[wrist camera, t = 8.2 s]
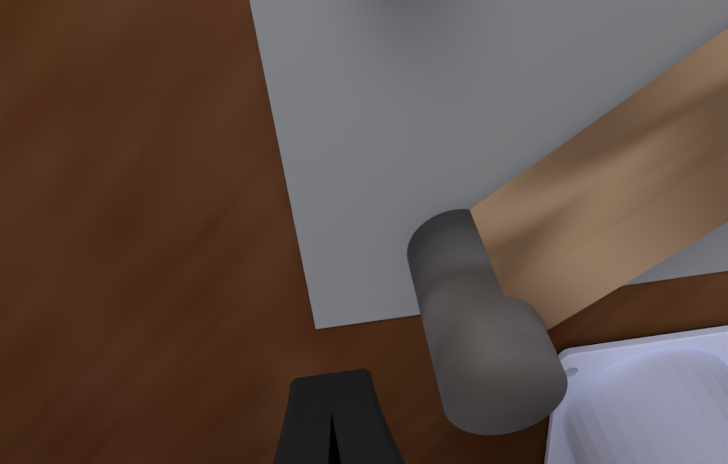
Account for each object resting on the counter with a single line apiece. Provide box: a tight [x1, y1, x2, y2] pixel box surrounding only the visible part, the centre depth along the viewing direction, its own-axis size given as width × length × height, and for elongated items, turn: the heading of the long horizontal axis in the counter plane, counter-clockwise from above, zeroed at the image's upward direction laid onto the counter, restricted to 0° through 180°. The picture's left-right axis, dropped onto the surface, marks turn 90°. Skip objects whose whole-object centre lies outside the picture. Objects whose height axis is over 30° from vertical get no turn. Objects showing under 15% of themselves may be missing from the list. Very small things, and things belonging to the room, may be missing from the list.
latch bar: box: [407, 28, 728, 435], centre depth 17 cm, size 17×3×6 cm, turn 130°
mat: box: [250, 0, 728, 329], centre depth 18 cm, size 20×18×1 cm
